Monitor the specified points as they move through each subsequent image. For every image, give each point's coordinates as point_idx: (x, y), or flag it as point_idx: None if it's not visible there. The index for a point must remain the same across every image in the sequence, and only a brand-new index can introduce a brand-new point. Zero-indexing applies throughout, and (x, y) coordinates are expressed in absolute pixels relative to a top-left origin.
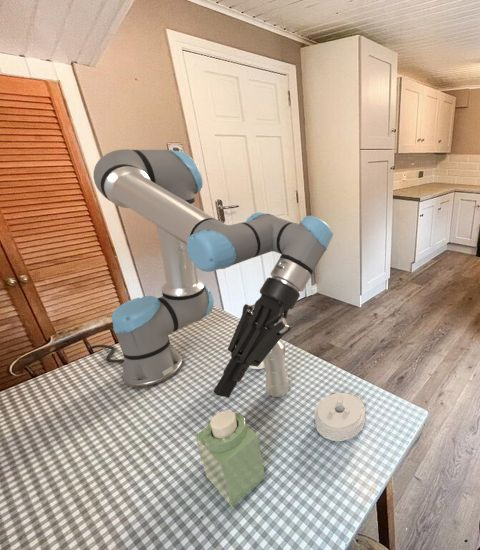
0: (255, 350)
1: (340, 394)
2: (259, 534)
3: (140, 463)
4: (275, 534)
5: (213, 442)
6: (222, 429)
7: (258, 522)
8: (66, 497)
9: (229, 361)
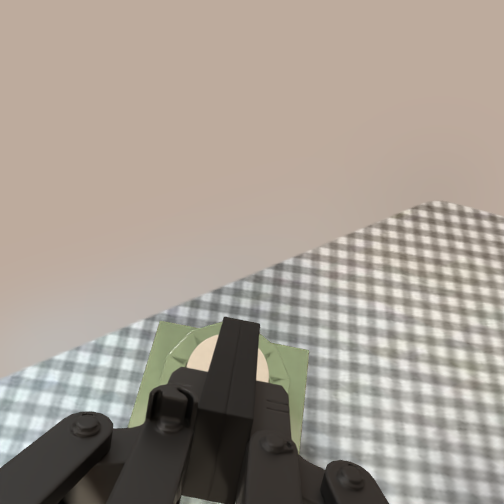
0: (20, 494)
1: None
2: (78, 361)
3: (432, 348)
4: (45, 375)
5: (211, 329)
6: (197, 346)
7: (94, 376)
8: (456, 256)
9: (288, 428)
